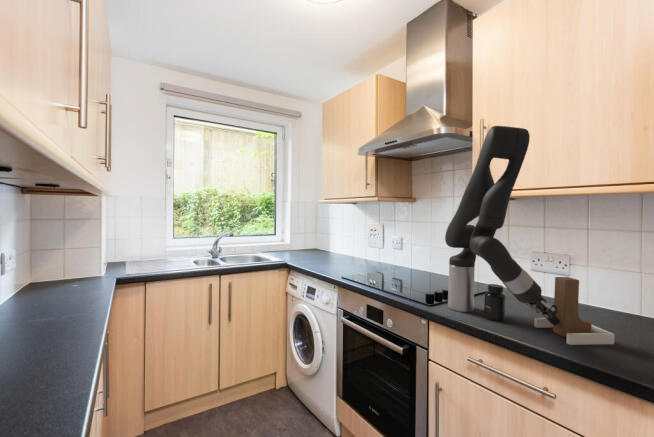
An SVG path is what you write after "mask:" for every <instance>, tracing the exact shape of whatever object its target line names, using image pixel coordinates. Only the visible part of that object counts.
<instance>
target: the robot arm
mask: <svg viewBox="0 0 654 437" xmlns="http://www.w3.org/2000/svg"><path fill="white" fill-rule="evenodd" d="M530 135H531V134H530V132H529V130H528V129H526V128H523V127H516V126H515V127H514V126H505V125H494V126H491V127H490V128H489V130H488V131H487V133H486V135H485V137H484V140H483V143H482V144H481V145H482V146H481V149H480V150H479V151H480V152H479V155H478V158H477V160H476V164H475V167H474V168H473V169H474V170H473V172H472V174H471V177H470V179H469V181H468V183H467V185H466V187H465V190H464V192H463V194H462V197H461V201H460V202H459V205H458V208H457V209H456V212H455V214H454V215H453V217H452V219H451V221H450V223H449V224H448V225H447V228H446V232H445V236H444V237H445V238H444V240H445V244H446V246H448V247H449V248H453V249H462V250H461V252H459V253H457V254H456V255H452V256H450V257H449V259H448V260H449V261H448V262H449V263H448V264H449V265H448V288H447V290H448V291H447V292H448V293H447V294H448V295H447V307H448V308H449V309H450V310H452V311H454V312H455V311H456V312H461V313H471V312H473V311H474V307H475V306H474V299H475V273H476V272H475V267H476V260H477V256H478V257H480V258H482V259H483V260H484V261H485V262H486V263H487V264H488V265H489V267H490V269H491V271H492V272H493V273H494V275H495V276H496V277H497V278H498V280H500V281H501V283H502V284H503V286H504V287H505V288H506V289H507V290H508V291H509V292H510V293H511V294H512V295H513V296H514V297H515V299H517V301H518V302H520V303H522V304H526V305H527V306H529V307H530V308H531V309H532V310H534V311H535V312H536V313H537V314H540V315H541V316H543V317H544V318H546V319H547V320H548V321H549V322H550V323H551V324H553V325H555V326H556V325H557V324H558V323H559V322H560V320H559V319H558V318H557V317H556V316H555V315H556V314H557V307H556V306H555V305H554V304H549V303H548V302H547V299H546V298H545V297H544V296H543V295H542V292H543V290H542V287H541V286H540V285H539V284H538V283H537V282H536V281H535V279H534V278H533V277H532V276H531V275H530V274H529V273H528V272H527V271H526V270H525V269H523V268H522V267H521V265H519V263H517V261H516V260H515V259H514V258H513V257H512V255H511V254H510V252H509V251H508V248H507V247H506V246H505V245H504V244H503V243H502V242H501V241H500V239H498V238H496V237H495V235H496V232H497V230H499V229H502V228H503V226H504V224H505V220H506V215H507V211H508V207H509V206H508V205H509V202H510V200H511V195H512V194H513V189H514V187H515V184H516V182H517V179H518V177H519V174H520V172H521V169H522V167H523V166H522V165H523V164H524V160H525V157H526V154H527V152H528V149H529V145H530ZM493 159H501V160H508V162H507V166H506V169H505V170H504V171H503V173H502V175H501V176H499V177H500V178H499V179H498V180H497V181H496V182H494V181H495V180H494V178H493V175H492V171H491V167H490V166H491V162H492V160H493ZM477 218H478V221H477V223H475V225H473V224H469V223H471V222H472V221H473V220H475V219H477Z"/></svg>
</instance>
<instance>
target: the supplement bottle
mask: <svg viewBox="0 0 654 437" xmlns="http://www.w3.org/2000/svg"><path fill="white" fill-rule="evenodd" d="M483 298H484V301H483V303H484V304H483V317H484V318H485V319H486V320H489V321H493V322H503V321H505V320H506V307H507V305H506V304H507V296H506V294H505V293H504V285H501V284H495V283H489V284H488V285H487V291H486V292H485V293H484V297H483Z"/></svg>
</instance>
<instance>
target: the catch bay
mask: <svg viewBox="0 0 654 437" xmlns="http://www.w3.org/2000/svg"><path fill="white" fill-rule="evenodd" d="M533 326H534V328H537V329H538V328H541V329H543V328H551V329H553V324H551V323H550V322H549V321H548V320H547V319H546V318H545V317H534V324H533ZM565 340H566V342H565V343H566V344H567V345H571V346H573V345H574V346H575V345H578V346H579V345H584V346H585V345H615V333H613V332H610V331H607V330H605V329H603V328H601V327H599V326H595V325H594V324H591V333H567V337H566V339H565Z"/></svg>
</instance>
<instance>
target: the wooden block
mask: <svg viewBox="0 0 654 437" xmlns="http://www.w3.org/2000/svg"><path fill="white" fill-rule="evenodd" d="M579 290H580V280H579V279H577V278H573V277H569V276H555V277H554V292H553V293H554V295H553V297H554V298H553V305H555V306H556V307H557V314H556V315H555V316H556V317H557V318H558V319H559V320H560V322H559V323H558V324H557V325H556V326H555V325H553V328H552V331H553V333H554V334H557V335H559V336H560V337H563V338H567V333H591V325H592V323H591V322H590V321H586V320H585V319H582V318H580V315H579V298H580V296H579V293H580V291H579Z"/></svg>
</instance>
